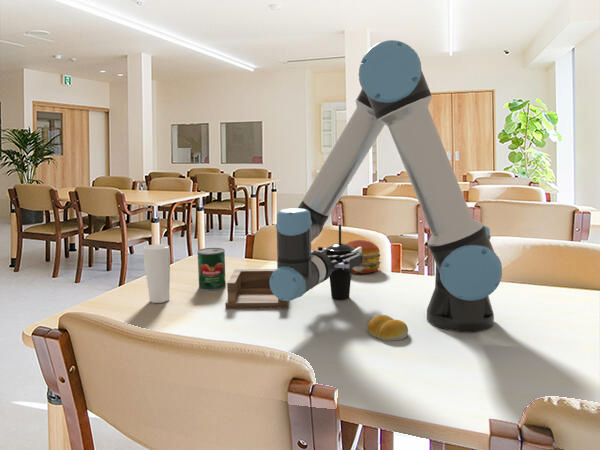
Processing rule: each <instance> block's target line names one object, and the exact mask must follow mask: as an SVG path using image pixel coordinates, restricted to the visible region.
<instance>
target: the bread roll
mask: <svg viewBox="0 0 600 450" xmlns="http://www.w3.org/2000/svg"><path fill="white" fill-rule="evenodd" d="M366 330H367V333H369V334H370V335H371V336H372V337H375V338H378V339H379V340H382V341H390V342H391V341H401V340H404V339H405V338H406V337H407V336H408V332H409V329H408V326H407V324H406V323H405V321H403V320H401V319H394V317H391V316H390V315H387V314H380V315H376V316H373V317H372V319H370V320H369V321H368V323H367V324H366Z"/></svg>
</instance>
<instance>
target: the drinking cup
mask: <svg viewBox="0 0 600 450" xmlns="http://www.w3.org/2000/svg"><path fill="white" fill-rule="evenodd" d="M328 246H329V247H328ZM328 246H327V248H326V247H325V248H326V251H327V256H333V255H338V256H341V255H345V254H349V253H351V251H353V250H354V247H351V246H349V245H347V243H342V224H338V243H333V244H331V246H330V245H328ZM351 271H352V268H351V269H350V270H349V271H344V270H343V268H339V269H337V270H334V271H333V272H332V274H331V275H330V277H329V283H330V285H329V286H330V296H331V299H333V300H339V301H340V300H341V301H342V300H348V299H349V298H350V293H351V292H350V291H351V282H352V273H351Z"/></svg>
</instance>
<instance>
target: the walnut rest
mask: <svg viewBox="0 0 600 450" xmlns="http://www.w3.org/2000/svg"><path fill="white" fill-rule="evenodd" d="M276 269H277V268H266V269H265V268H261V269H258V268H255V269H254V268H253V269H252V268H251V269H250V268H249V269H247V268H245V269H243V268H242V269H241V268H239V269H238V268H237V269H234V270H233V272H232V274H231V276H230V277H229V280H228V281H227V282H226V287H227V288H226V289H227V299H226V300H225V303H224V304H225V305H224V306H225V309H229V310H231V309H232V310H233V309H236V310H238V309H240V310H242V309H244V310H245V309H289V302H290V301H283V300H280V299H279V298H277V297H276V296H275V295H274V294H273V293H272V291H271V288H270V284H269V282H270V277H271V275H272V273H273V272H274V271H275V270H276Z"/></svg>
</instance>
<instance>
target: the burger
mask: <svg viewBox="0 0 600 450" xmlns="http://www.w3.org/2000/svg"><path fill="white" fill-rule="evenodd" d="M346 244H347V245H349V246H351V247H354V249H356V248H358V247H362V254H363V263H362V264H360V265H358V266H355V267H353V268H352V271H351V274H370V273H373V272H376V271H378V269H379V268H380V264H381V263H382V262H381V261H380V257H381V254H380V253H381V252H380V251H381V250H380V248H379V247H378V246H377V244H375V243H373V242H371V241H369V240H363V239H358V240H351V241H349V242H347V243H346Z"/></svg>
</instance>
